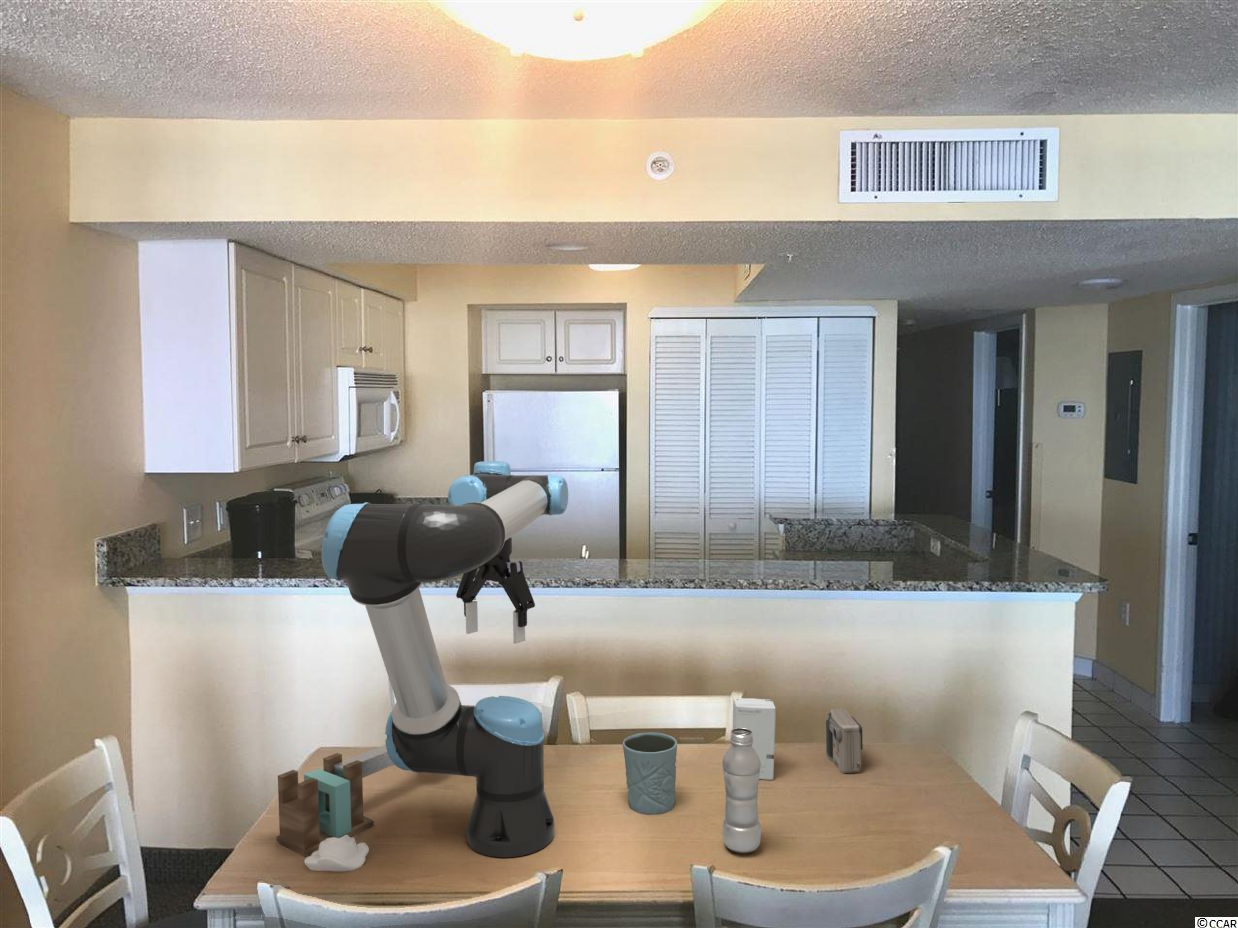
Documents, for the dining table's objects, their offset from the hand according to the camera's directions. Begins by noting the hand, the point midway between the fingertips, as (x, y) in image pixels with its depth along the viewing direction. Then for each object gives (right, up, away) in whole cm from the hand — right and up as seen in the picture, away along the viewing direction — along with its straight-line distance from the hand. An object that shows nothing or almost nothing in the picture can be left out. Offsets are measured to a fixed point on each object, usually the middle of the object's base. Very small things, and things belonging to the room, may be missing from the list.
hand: (495, 637), depth 181 cm
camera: (+73, -26, 0) cm, 77 cm away
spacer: (-25, -28, -28) cm, 47 cm away
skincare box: (+53, -27, -5) cm, 60 cm away
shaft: (-16, -21, -17) cm, 31 cm away
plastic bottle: (+46, -29, -35) cm, 65 cm away
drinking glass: (+32, -28, -18) cm, 46 cm away
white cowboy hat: (-21, -30, -38) cm, 52 cm away
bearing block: (-26, -29, -29) cm, 49 cm away
